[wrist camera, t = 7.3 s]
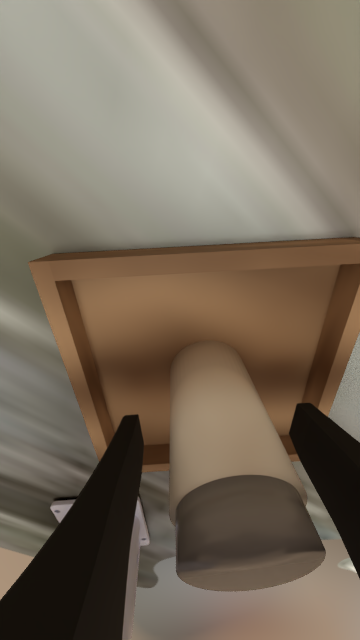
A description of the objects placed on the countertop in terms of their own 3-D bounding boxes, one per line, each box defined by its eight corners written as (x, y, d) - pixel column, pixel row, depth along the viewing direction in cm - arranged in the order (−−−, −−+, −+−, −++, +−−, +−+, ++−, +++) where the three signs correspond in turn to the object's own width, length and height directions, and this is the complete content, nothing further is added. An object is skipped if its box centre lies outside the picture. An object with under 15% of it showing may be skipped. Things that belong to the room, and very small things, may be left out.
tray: (296, 434, 17) (311, 460, 15) (111, 446, 17) (104, 475, 15) (354, 237, 10) (392, 241, 9) (52, 253, 10) (27, 262, 8)
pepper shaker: (239, 396, 14) (312, 588, 7) (172, 400, 14) (173, 598, 7) (245, 338, 12) (356, 521, 5) (167, 342, 12) (162, 534, 5)
